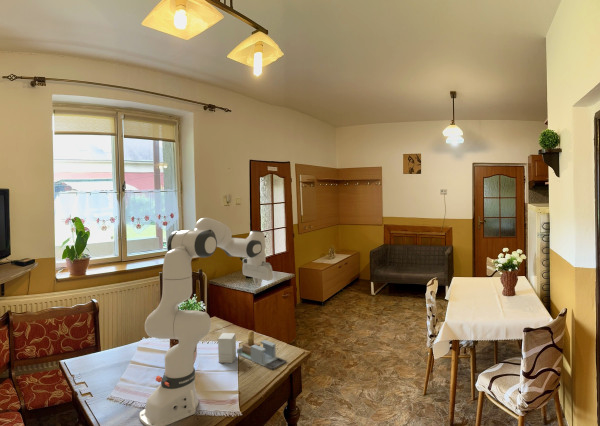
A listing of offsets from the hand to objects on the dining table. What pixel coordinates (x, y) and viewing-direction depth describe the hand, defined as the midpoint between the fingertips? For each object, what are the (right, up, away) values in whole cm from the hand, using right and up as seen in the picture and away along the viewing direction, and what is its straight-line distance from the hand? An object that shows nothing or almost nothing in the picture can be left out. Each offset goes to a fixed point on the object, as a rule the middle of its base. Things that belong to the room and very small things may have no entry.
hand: (257, 285), depth 193 cm
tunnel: (+3, -36, -8) cm, 37 cm away
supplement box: (-15, -36, -9) cm, 40 cm away
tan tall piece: (-3, -35, -3) cm, 35 cm away
